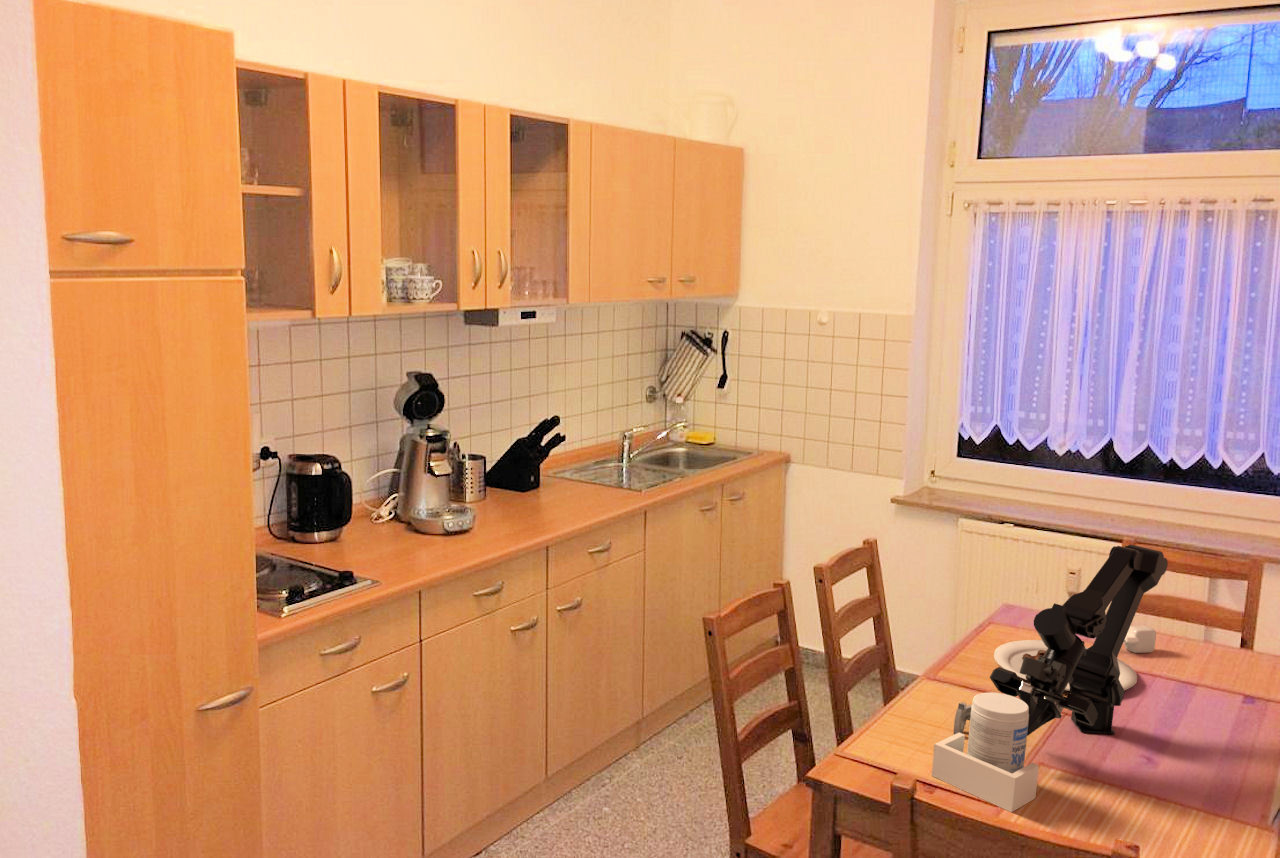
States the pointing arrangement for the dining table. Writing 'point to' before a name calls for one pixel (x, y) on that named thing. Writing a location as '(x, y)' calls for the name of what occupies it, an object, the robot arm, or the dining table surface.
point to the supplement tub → (998, 730)
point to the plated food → (1015, 652)
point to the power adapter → (1140, 639)
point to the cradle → (983, 775)
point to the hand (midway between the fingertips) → (1022, 735)
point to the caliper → (961, 717)
